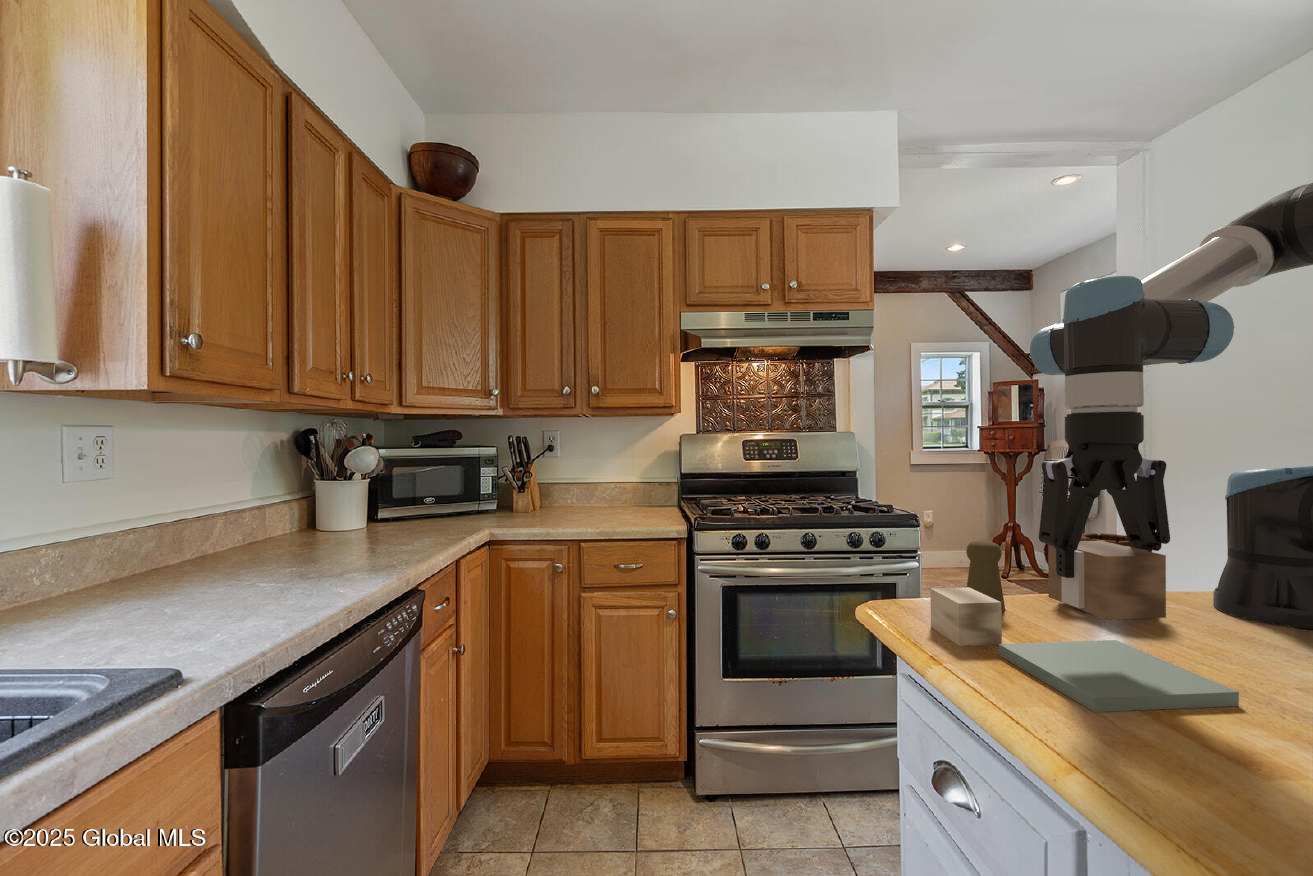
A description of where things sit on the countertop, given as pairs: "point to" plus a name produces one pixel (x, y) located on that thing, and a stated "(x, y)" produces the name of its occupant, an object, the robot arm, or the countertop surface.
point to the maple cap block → (966, 616)
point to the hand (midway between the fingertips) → (1104, 603)
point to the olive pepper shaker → (985, 569)
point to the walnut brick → (1117, 581)
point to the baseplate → (1116, 676)
